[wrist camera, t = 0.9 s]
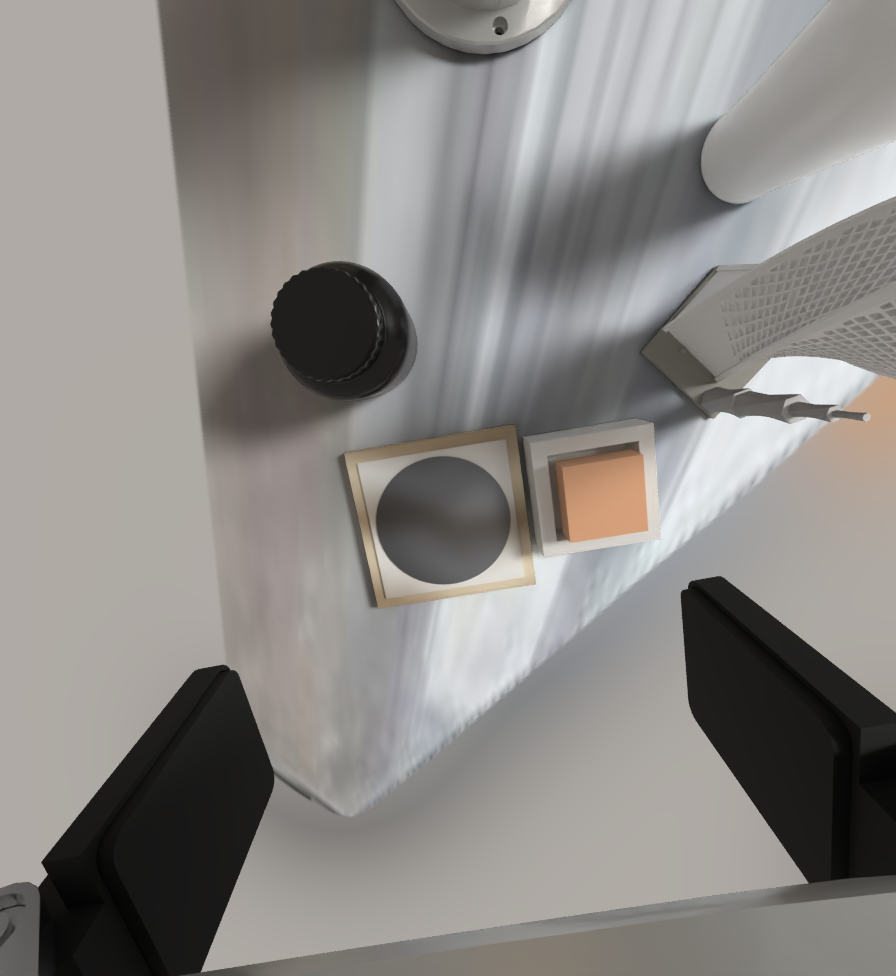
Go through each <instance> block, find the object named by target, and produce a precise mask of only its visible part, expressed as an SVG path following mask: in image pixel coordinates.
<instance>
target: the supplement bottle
mask: <svg viewBox="0 0 896 976" xmlns="http://www.w3.org/2000/svg"><path fill="white" fill-rule="evenodd" d="M273 306H274V308H273V310H272V312H271V316H272V320H271V327H272V329H273V330H272V336H273V338H274V339H275V345H276V347H277V348H278V349H279V352H280V354H281V357H282V359H283V361H284V363H285V365H286V366H287V368H288V369H289V371H290V372H291V373H292V375H293V376H294V377H295V378H296V379H297V380H298V381H299V382H300V383H301V384H302V385H303V386H305V387H306V388H307V389H309V390H310V391H312V392H314V393H316V394H318V395H320V396H322V397H325V398H329V399H333V400H339V401H355V400H361V399H365V398H369V397H373V396H377V395H380V394H383V393H386V392H388V391H390V390H392V389H394V388H395V387H397V386H398V385H399V384H400V383H401V382H402V381H403V380H404V379H405V378H406V377H407V376H408V374H409V373H410V371H411V369H412V367H413V365H414V362H415V359H416V354H417V335H416V330H415V327H414V324H413V321H412V319H411V317H410V315H409V313H408V311H407V310H406V308H405V306H404V304H403V302H402V300H401V298H400V297H399V295H398V294H397V292H396V291H395V290H394V288H393V287H392V286H391V285H390V284H389V283H388V282H387V281H386V280H385V279H384V278H383V277H381V276H380V275H379V274H377V273H376V272H374V271H373V270H371V269H369V268H367V267H365V266H362V265H359V264H356V263H351V262H344V261H333V262H326V263H322V264H319V265H316V266H314V267H312V268H310V269H308V270H304V271H301V272H300V273H299V274H298V275H294V276H292V277H291V279H290V281H288V282H286V283H284V285H283V288H282V289H281V290H280V291H278V294H277V298H276V299H275V301H274V302H273Z"/></svg>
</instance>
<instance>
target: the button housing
mask: <svg viewBox="0 0 896 976" xmlns="http://www.w3.org/2000/svg"><path fill="white" fill-rule="evenodd" d="M523 445H524V452H525V460H526V468H527V476H528V484H529V492H530V500H531V507H532V515H533V523H534V531H535V539H536V543H537V545H538V547H539V549H540V551H541V552H542V554H543V556H544V557H550V556H556V555H563V554H569V553H575V552H582V551H588V550H595V549H601V548H607V547H614V546H620V545H626V544H633V543H639V542H646V541H652V540H658V539H661V537H660V520H659V504H658V487H657V470H656V453H655V436H654V423H652V422H648V421H644V420H640V419H636V418H634V419H628V420H622V421H616V422H610V423H604V424H598V425H592V426H586V427H580V428H574V429H568V430H562V431H556V432H549V433H543V434H537V435H531V436H525V437H523ZM629 449H632V450H634V451H636V452H639V453H641V454H643V458H644V473H645V488H646V503H647V518H648V531H643V532H637V533H631V534H624V535H618V536H612V537H605V538H599V539H593V540H586V541H580V542H574V543H570V542H569V540H568V539H567V538H566V536H565V535H564V533H563V529H562V520H561V512H560V503H559V494H558V485H557V476H556V467H555V461H561V460H567V459H573V458H580V457H586V456H592V455H598V454H604V453H610V452H616V451H623V450H629Z"/></svg>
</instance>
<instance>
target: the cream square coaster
mask: <svg viewBox="0 0 896 976" xmlns="http://www.w3.org/2000/svg"><path fill="white" fill-rule="evenodd" d="M344 456H345V460H346V465H347V469H348V474H349V478H350V483H351V487H352V492H353V496H354V501H355V505H356V510H357V515H358V519H359V524H360V528H361V533H362V537H363V542H364V546H365V551H366V555H367V560H368V564H369V569H370V573H371V578H372V582H373V587H374V591H375V596H376V601H377V605H378V609H380V608H386V607H392V606H399V605H405V604H412V603H418V602H425V601H431V600H437V599H444V598H450V597H457V596H463V595H470V594H476V593H483V592H489V591H495V590H502V589H508V588H515V587H521V586H528V585H534V584H536V580H535V572H534V565H533V557H532V549H531V542H530V534H529V526H528V519H527V511H526V503H525V496H524V488H523V480H522V473H521V465H520V457H519V450H518V442H517V434H516V426H515V425H514V424H511V425H505V426H499V427H493V428H487V429H481V430H475V431H469V432H463V433H457V434H451V435H445V436H439V437H433V438H427V439H421V440H415V441H409V442H403V443H397V444H391V445H385V446H379V447H373V448H367V449H361V450H355V451H349V452H346V453H344Z"/></svg>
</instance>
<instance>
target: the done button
mask: <svg viewBox="0 0 896 976" xmlns="http://www.w3.org/2000/svg"><path fill="white" fill-rule="evenodd" d="M555 467H556V476H557V485H558V494H559V503H560V512H561V520H562V529H563V533H564V535H565V536H566V538H567V539H568V540H569V542H570V543H574V542H580V541H586V540H593V539H599V538H605V537H612V536H618V535H624V534H631V533H637V532H643V531H648V518H647V503H646V488H645V473H644V458H643V454H641V453H639V452H636V451H634V450H632V449H629V450H623V451H616V452H610V453H604V454H598V455H592V456H586V457H580V458H573V459H567V460H561V461H555Z"/></svg>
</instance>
